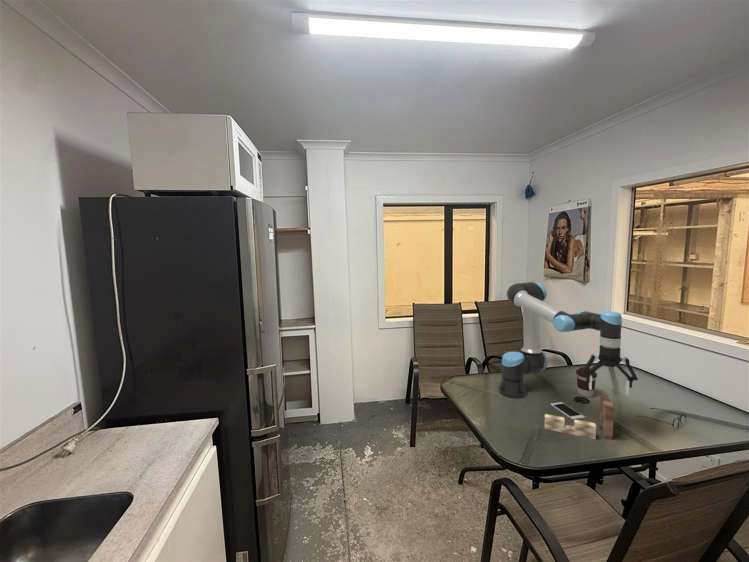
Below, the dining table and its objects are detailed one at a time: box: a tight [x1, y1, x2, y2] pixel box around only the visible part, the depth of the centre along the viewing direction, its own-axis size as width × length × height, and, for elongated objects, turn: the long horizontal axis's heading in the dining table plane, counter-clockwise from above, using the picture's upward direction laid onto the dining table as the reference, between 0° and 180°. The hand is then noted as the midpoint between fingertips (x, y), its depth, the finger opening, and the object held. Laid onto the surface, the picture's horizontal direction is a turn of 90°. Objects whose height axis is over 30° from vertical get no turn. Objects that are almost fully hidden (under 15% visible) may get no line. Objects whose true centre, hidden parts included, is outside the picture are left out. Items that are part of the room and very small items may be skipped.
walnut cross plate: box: [598, 394, 615, 441], centre depth 144 cm, size 12×3×15 cm, turn 153°
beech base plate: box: [544, 413, 597, 440], centre depth 145 cm, size 20×3×6 cm, turn 63°
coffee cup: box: [575, 366, 598, 398], centre depth 179 cm, size 10×10×15 cm
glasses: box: [636, 407, 687, 431], centre depth 153 cm, size 14×15×5 cm
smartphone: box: [550, 401, 586, 421], centre depth 163 cm, size 7×15×1 cm, turn 10°
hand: (608, 391), depth 142 cm, fingers open, 13 cm apart
